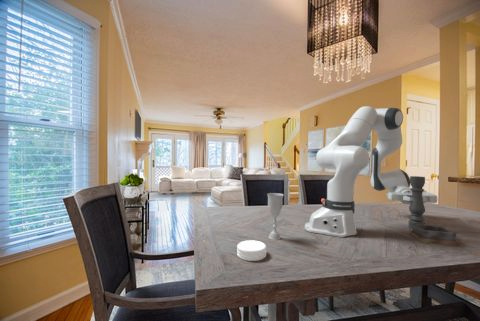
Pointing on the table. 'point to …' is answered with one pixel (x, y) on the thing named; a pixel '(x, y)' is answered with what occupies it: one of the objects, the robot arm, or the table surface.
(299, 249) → the table surface
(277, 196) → the chalice
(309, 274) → the table surface
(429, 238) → the socket base
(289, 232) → the table surface
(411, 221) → the candle holder
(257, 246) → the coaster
